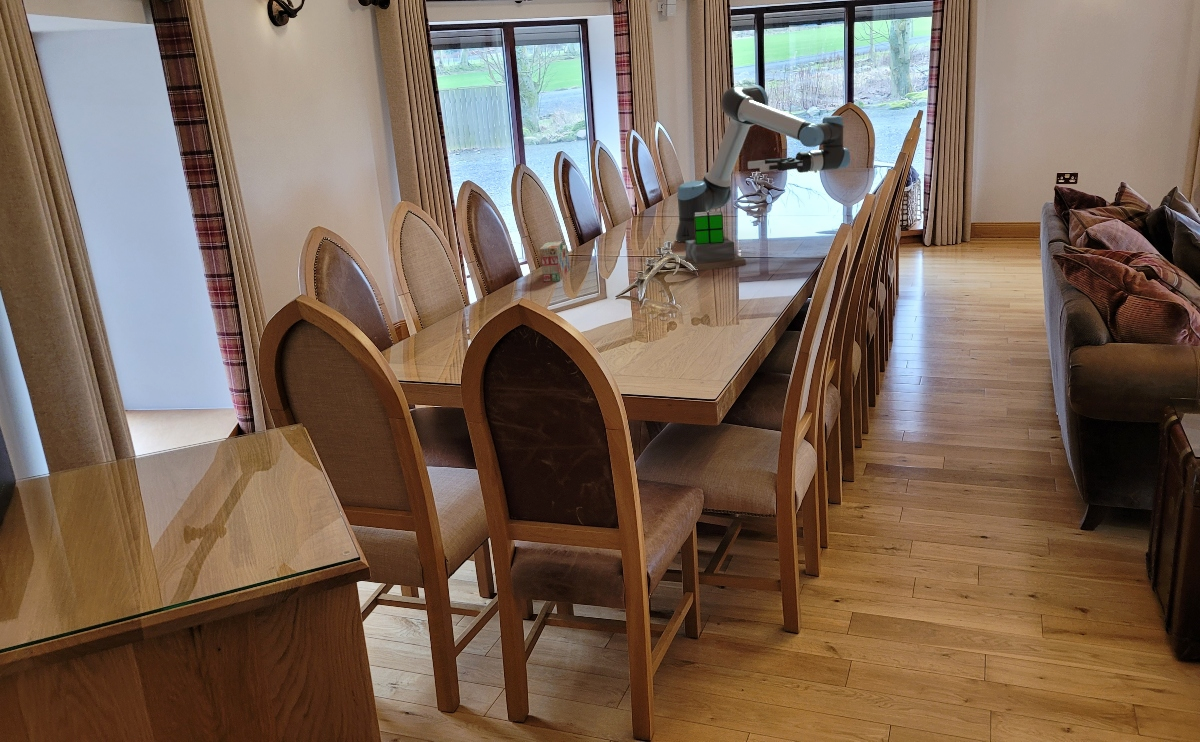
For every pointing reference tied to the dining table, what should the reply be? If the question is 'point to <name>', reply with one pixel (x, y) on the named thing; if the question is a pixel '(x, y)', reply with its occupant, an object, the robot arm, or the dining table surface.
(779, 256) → the dining table surface
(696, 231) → the puzzle cube
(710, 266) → the tower base
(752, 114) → the robot arm
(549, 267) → the stack of blocks
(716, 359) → the dining table surface
